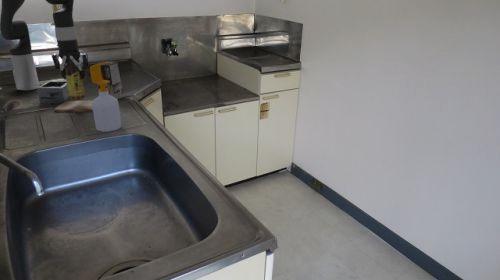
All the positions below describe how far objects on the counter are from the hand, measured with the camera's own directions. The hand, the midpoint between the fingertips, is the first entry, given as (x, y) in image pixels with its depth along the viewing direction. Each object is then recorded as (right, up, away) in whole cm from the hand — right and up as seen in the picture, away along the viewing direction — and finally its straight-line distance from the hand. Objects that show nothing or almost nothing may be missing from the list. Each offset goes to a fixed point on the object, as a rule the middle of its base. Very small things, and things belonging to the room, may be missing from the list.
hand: (74, 78), depth 161 cm
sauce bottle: (0, -8, +4) cm, 9 cm away
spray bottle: (+21, -21, -17) cm, 35 cm away
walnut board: (0, -12, +5) cm, 13 cm away
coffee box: (+9, -6, +18) cm, 21 cm away
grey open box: (-14, -8, +14) cm, 21 cm away
